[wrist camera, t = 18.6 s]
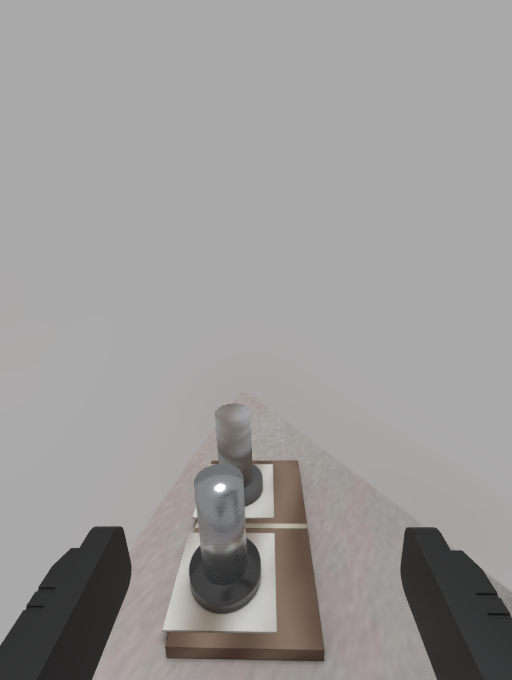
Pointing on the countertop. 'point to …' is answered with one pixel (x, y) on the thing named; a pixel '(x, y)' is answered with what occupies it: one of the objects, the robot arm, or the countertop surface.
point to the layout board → (276, 566)
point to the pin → (223, 543)
